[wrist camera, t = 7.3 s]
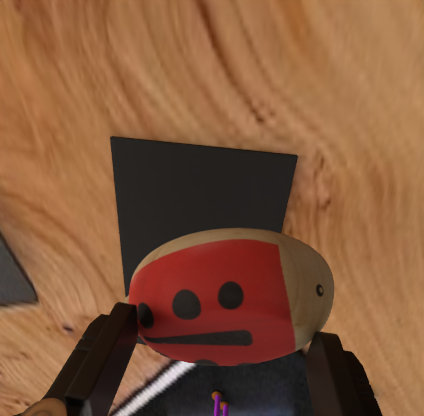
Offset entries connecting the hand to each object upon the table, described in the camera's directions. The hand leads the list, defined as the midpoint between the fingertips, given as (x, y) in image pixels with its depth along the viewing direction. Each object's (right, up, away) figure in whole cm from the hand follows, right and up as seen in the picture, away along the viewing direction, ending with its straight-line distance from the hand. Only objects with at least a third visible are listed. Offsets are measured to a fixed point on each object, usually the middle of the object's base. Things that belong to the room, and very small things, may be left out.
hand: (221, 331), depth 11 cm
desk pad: (-2, 0, +11) cm, 11 cm away
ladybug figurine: (0, +2, +3) cm, 3 cm away
